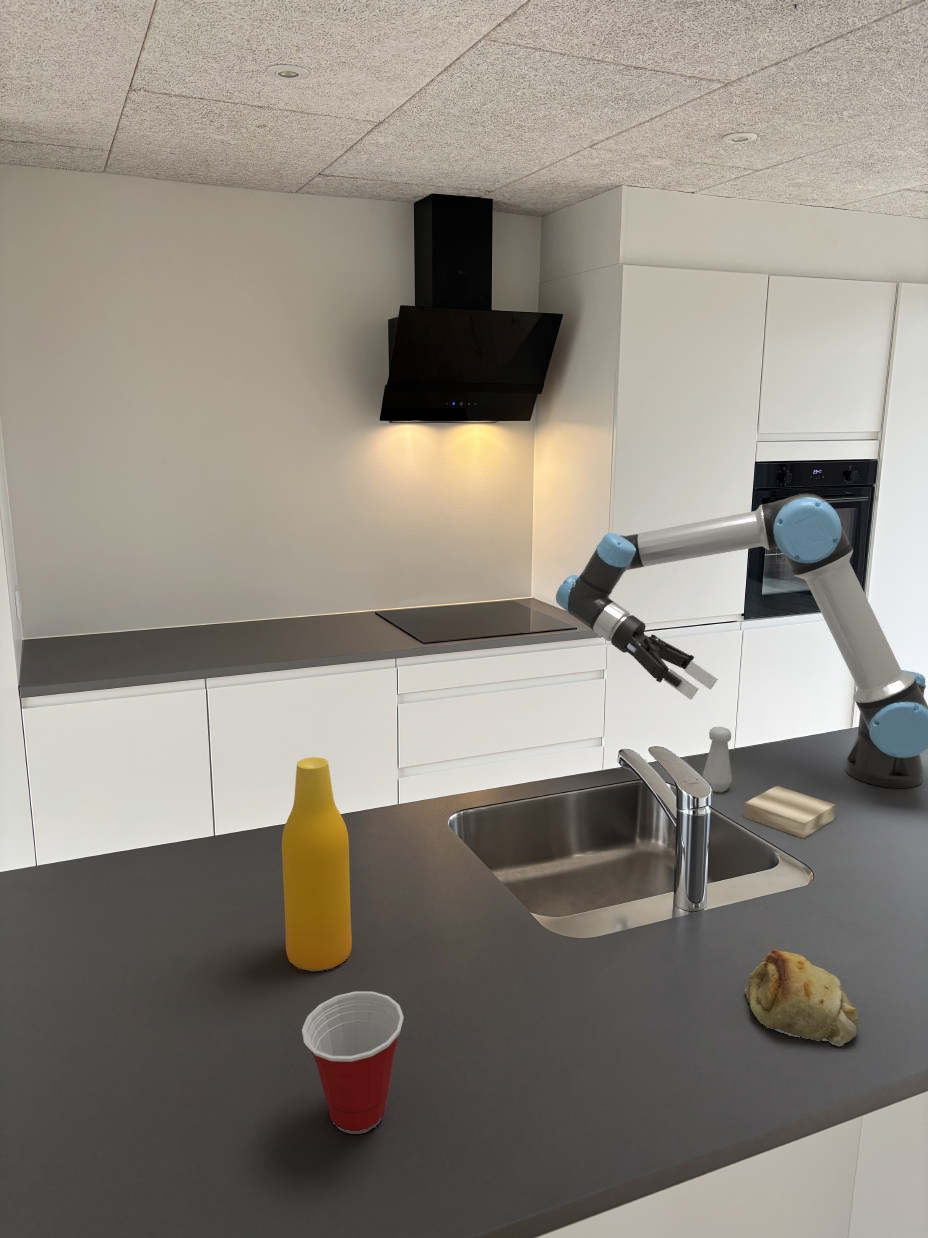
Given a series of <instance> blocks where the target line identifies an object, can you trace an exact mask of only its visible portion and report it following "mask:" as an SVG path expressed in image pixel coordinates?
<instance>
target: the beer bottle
mask: <svg viewBox="0 0 928 1238" xmlns="http://www.w3.org/2000/svg"><path fill="white" fill-rule="evenodd" d="M295 772H296V773H295V785H294V786H295V788H294V799H293V805H292V809H291V811H290V813H289V815H288V818H287V820H286V822H285V824H284V827H283V832H282V838H281V855H282V856H281V857H282V858H281V859H282V876H283V877H282V878H283V879H282V881H283V898H284V899H283V901H284V920H285V921H284V922H285V924H284V925H285V950H286V956H287V959H288V961H289V962H290V964H291V963H292V964H293V965H295V966H296V967H299V968H302V969H306V970H322V969H327V968H332V967H334V966H337V965H339V964H341V963H342V962H344V961H345V960H346V959H347V960H348V959H349V957H350V955H351V952H352V948H353V946H352V945H353V939H352V936H353V935H352V918H351V917H352V915H351V884H350V881H351V879H350V878H351V877H350V842H349V841H350V840H349V833H348V828H347V826H346V823H345V820H344V819H343V817H342V816H343V815H342V814H341V813H340V810H339V809H338V808H337V805H336V803H335V799H334V794H333V793H334V792H333V785H332V779H331V773H330V772H331V771H330V766H329V761H328V760H327V759H326V758H324V757H316V756H315V757H314V756H313V757H306V758H303V759H300V760H298V761H297V763H296V771H295ZM347 960H346V961H347ZM346 961H345V962H346ZM345 962H344V963H345ZM292 964H291V965H292ZM342 964H343V963H342ZM342 964H341V965H342ZM293 965H292V966H293ZM295 966H294V967H295ZM296 967H295V968H296Z"/></svg>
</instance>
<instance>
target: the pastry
mask: <svg viewBox="0 0 928 1238" xmlns="http://www.w3.org/2000/svg"><path fill="white" fill-rule="evenodd" d="M747 981H748V985H747V986H746V987H745V989H744V992H745V995H746V1000H747V999H748V1000H747V1002H748V1001H749V1002H750V1003H749V1009H751V1012H752V1013H753V1015H754V1016H755V1017H756V1019H757V1020H758V1021H759V1023H760V1024H761V1025H762V1024H763V1025H762V1026H764V1025H765V1026H767V1027H769V1028H773V1029H780V1030H782V1031H784V1032H787V1033H791V1034H793V1035H797V1036H800V1037H804V1038H808V1039H813V1040H822V1039H823V1038H826V1039H827V1040H829V1041H831V1042H833V1043H835V1044H839V1045H843V1044H845V1043H847V1042H848V1043H849V1042H851V1040H852V1039H853V1038H855V1037H856V1036H857V1032H858V1031H857V1030H858V1024H859V1014H858V1011H857V1010H856V1007H854V1006H853V1004H852V1002H851V1000H850V999H849V998H848V995H847V994H846V993H845V992H844V991H843V987H842V983H841V980H840V979H839V978H838V977H837V976H836V975H835V974H832V973H830V972H829V971H827V970H825V969H824V968H821V967H819V966H816V965H814V964H812V963H811V962H810V960H808V959H807V958H806V957H805V956H803V955H801V954H798V953H793V952H788V951H782V950H779V949H772V950H771V951H769V952H768V953H767V955H765V957H764V958H762V959H761V961H760V963H759V965H758V966H756V967H755V969H754V970H753V971H751V972H750V973H749V976H748V980H747ZM765 1026H764V1027H765ZM848 1043H847V1044H848ZM845 1045H846V1044H845Z"/></svg>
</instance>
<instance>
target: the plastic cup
mask: <svg viewBox="0 0 928 1238" xmlns="http://www.w3.org/2000/svg"><path fill="white" fill-rule="evenodd" d="M403 1022H404V1013H403V1011H402V1009H401V1006H400V1004H399V1003H397V1002H396V1001H395V1000H394V999H393V998H391V997H390V996H389V995H385V994H384V993H383V994H382V993H379V992H375V991H352V992H348V993H344V994H338V995H335V996H333V997H332V998H330V999H328V1000H326V1001H323V1002H322V1003H320V1004H319V1005H318V1006H316V1008H315V1009H313V1010H312V1011H311V1012H310V1013H309V1014H308V1015H307V1017H306V1019H305V1021H304V1023H303V1026H302V1029H301V1033H302V1038H303V1043H304V1045H305V1046H306V1047H307V1048H308V1050H310V1052H311V1054H312V1056H313V1058H314V1061H315V1063H316V1066H317V1070H318V1074H319V1078H320V1083H321V1086H322V1090H323V1095H324V1097H325V1098H324V1099H325V1101H326V1103H327V1107H328V1111H329V1112H328V1113H329V1116H330V1117H329V1118H330V1120H331V1121H333V1122H334V1123H335V1125H336V1126H337V1127H340V1128H342V1129H344V1130H350V1131H360V1130H363V1129H368V1128H369V1127H371V1126H373V1125H374V1124H376V1123H377V1122H378V1121H379V1119H380V1118H381V1117H382V1116H383V1117H384V1115H385V1112H386V1106H387V1099H388V1095H389V1091H390V1087H391V1086H390V1085H391V1080H392V1075H393V1074H392V1073H393V1072H392V1071H393V1067H394V1062H395V1061H394V1060H395V1052H396V1048H397V1044H398V1037H399V1036H400V1034H401V1029H402V1026H403ZM383 1114H384V1115H383ZM383 1117H382V1118H383ZM333 1122H332V1123H333Z"/></svg>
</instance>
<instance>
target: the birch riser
mask: <svg viewBox="0 0 928 1238" xmlns="http://www.w3.org/2000/svg"><path fill="white" fill-rule="evenodd" d="M743 811H744V812H743V813H744V814H743V818H745V819H747V820H751V821H752V822H756V823H758V824H761V825H765V826H767V827H770V828H772V829H774V830H778V831H779V832H780V831H781V832H784V833H787V834H789V835H792V836H795V837H797V838H800V839H802V840H803V839H805V838H807V837H808V836H810V835H812V834H813V833H815V832H816V831H818V830H819V829H821V828H823V827H824V826H826V825H827V824H829V823H831V822H832V821H833V820H835V814H836V813H835V812H836V804H834V803H832V802H828V801H826V800H822V799H820V798H816V797H813V796H810V795H807V794H804V793H801V792H797V791H795V790H792V789H788V788H786V787H782V786H779V785H776V786H774V787H772V788H770V789H768V790H766V791H764V792H762V793H761V794H759V795H756V796H755V797H753V798H751V799H749V800H748V801H746V802H744V810H743Z"/></svg>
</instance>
